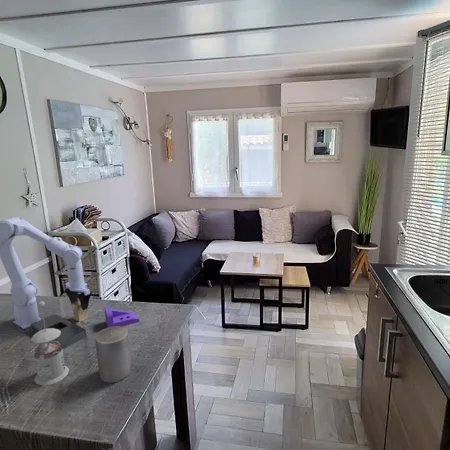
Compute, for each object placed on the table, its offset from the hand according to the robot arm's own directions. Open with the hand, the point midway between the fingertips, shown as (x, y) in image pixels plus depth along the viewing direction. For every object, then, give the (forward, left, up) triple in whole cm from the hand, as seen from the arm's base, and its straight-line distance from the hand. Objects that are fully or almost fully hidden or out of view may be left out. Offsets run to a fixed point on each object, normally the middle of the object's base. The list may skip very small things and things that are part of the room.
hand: (79, 306), depth 140 cm
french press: (+25, -26, -6) cm, 36 cm away
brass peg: (0, 0, -5) cm, 5 cm away
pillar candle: (+42, -14, -6) cm, 45 cm away
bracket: (+17, +8, -6) cm, 20 cm away
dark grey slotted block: (+4, -12, -5) cm, 14 cm away
